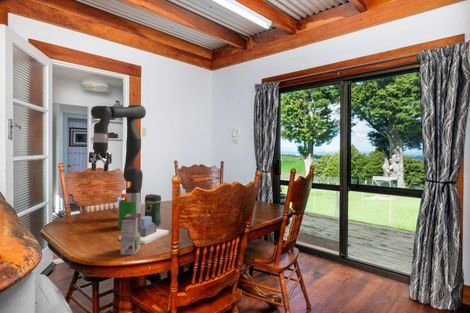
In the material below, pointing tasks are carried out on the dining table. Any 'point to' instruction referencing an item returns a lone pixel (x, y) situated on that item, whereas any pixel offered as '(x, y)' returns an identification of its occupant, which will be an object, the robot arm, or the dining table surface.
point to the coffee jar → (153, 207)
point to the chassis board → (150, 234)
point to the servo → (146, 222)
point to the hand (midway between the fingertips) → (99, 170)
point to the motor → (125, 208)
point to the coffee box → (130, 233)
